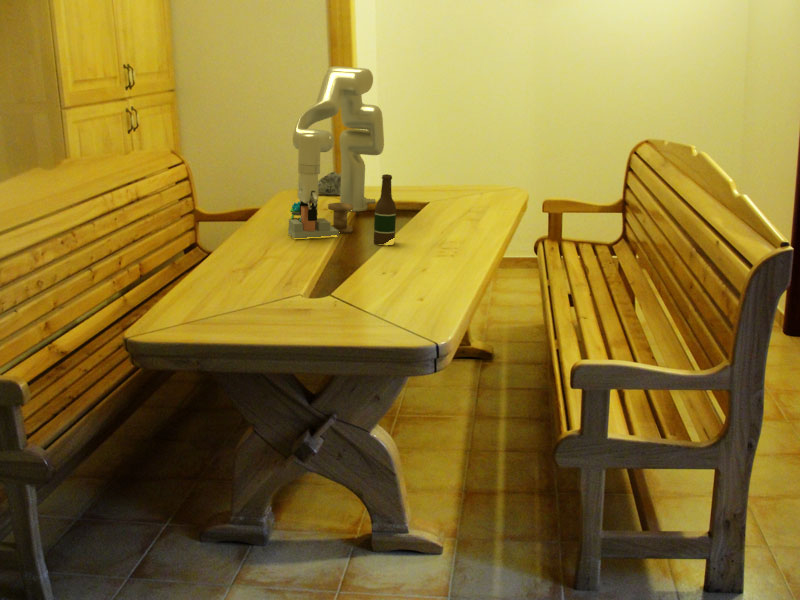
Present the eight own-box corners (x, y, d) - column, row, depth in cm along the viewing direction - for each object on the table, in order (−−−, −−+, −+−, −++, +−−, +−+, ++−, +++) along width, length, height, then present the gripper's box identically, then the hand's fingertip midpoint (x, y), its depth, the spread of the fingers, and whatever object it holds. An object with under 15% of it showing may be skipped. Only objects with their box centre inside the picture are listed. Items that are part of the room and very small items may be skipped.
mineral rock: (311, 195, 414) (311, 172, 411) (319, 191, 424) (320, 168, 421) (340, 198, 411) (340, 174, 408) (348, 194, 421) (348, 170, 418)
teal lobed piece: (322, 216, 369) (310, 200, 362) (317, 229, 367) (304, 213, 359) (299, 215, 375) (286, 200, 367) (293, 228, 372) (280, 213, 365)
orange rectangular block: (300, 228, 345) (301, 206, 342) (311, 227, 346) (312, 205, 344) (304, 231, 341) (304, 208, 339) (314, 230, 343) (315, 208, 340)
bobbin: (347, 227, 361) (348, 202, 358) (355, 233, 353) (356, 207, 350) (324, 228, 357) (324, 203, 354) (332, 234, 349) (332, 208, 347)
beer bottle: (398, 242, 342) (402, 174, 335) (389, 247, 335) (392, 177, 328) (379, 239, 345) (381, 172, 338) (369, 244, 338) (371, 175, 331)
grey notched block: (331, 232, 352) (331, 217, 350) (338, 237, 345) (338, 222, 343) (288, 234, 346) (288, 219, 344) (294, 240, 339) (294, 224, 337)
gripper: (291, 165, 344) (290, 212, 349) (306, 173, 328) (305, 223, 333) (312, 164, 346) (311, 211, 351) (327, 173, 331) (326, 222, 336)
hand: (308, 217), depth 342 cm, fingers open, 9 cm apart
